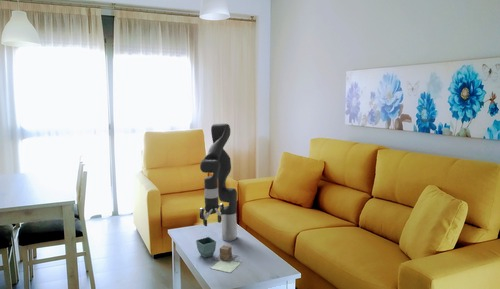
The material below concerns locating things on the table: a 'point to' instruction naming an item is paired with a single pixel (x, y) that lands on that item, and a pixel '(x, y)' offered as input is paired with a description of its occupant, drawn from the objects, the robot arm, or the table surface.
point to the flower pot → (206, 246)
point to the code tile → (225, 259)
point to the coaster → (225, 266)
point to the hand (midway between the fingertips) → (212, 224)
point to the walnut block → (225, 252)
